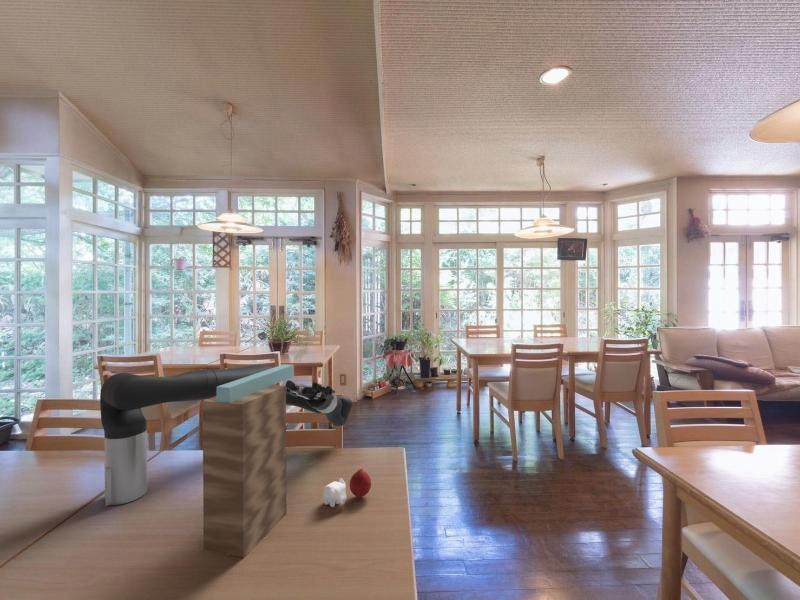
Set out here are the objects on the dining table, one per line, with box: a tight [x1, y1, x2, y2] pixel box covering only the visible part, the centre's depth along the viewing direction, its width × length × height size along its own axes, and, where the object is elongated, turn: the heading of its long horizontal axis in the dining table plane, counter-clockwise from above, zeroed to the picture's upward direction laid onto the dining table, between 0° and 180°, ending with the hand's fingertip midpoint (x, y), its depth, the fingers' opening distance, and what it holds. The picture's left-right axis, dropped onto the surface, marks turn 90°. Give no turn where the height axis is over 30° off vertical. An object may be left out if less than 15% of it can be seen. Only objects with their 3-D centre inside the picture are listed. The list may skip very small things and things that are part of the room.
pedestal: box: [202, 384, 287, 559], centre depth 85 cm, size 16×10×32 cm, turn 165°
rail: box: [217, 363, 295, 403], centre depth 90 cm, size 26×3×3 cm, turn 166°
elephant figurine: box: [321, 477, 348, 508], centre depth 95 cm, size 7×8×6 cm
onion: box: [349, 467, 372, 499], centre depth 98 cm, size 6×6×8 cm
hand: (300, 384), depth 107 cm, fingers open, 8 cm apart
